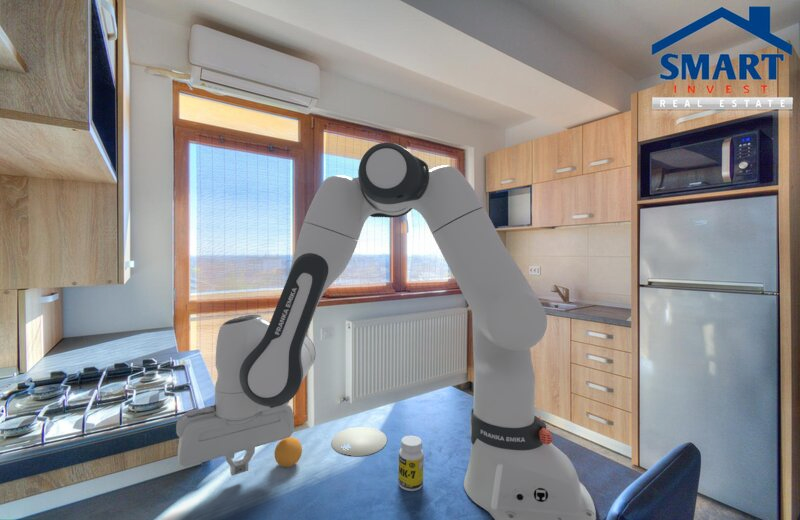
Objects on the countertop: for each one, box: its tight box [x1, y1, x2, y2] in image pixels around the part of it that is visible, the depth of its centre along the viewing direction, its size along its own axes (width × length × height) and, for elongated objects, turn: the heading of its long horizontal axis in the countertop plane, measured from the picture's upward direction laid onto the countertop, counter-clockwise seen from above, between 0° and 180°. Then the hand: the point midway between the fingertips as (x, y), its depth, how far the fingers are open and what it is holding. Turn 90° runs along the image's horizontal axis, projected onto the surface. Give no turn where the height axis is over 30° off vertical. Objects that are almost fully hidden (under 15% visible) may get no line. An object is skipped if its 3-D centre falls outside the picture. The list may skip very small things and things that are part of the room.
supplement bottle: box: [397, 435, 425, 492], centre depth 67 cm, size 5×5×8 cm
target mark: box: [331, 426, 388, 457], centre depth 82 cm, size 13×13×1 cm
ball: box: [273, 436, 303, 468], centre depth 72 cm, size 6×6×6 cm
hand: (239, 471), depth 67 cm, fingers closed
